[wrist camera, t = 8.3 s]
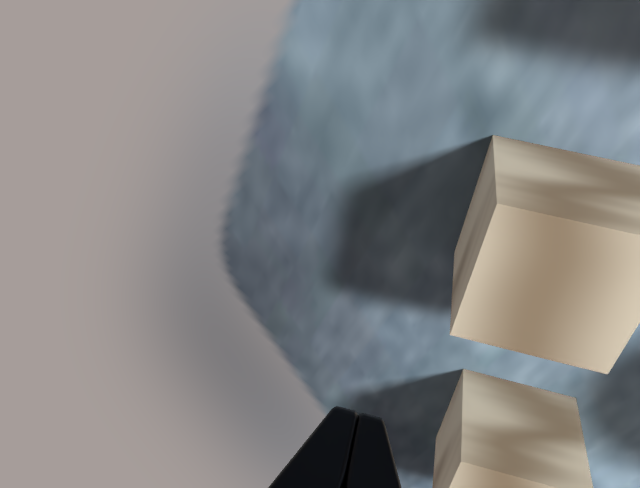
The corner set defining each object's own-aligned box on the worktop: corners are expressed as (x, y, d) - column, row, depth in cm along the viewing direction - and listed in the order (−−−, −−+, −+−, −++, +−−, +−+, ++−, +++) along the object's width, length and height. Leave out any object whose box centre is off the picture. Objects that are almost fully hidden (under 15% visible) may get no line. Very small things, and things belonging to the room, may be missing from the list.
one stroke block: (575, 396, 25) (595, 500, 21) (536, 463, 28) (547, 566, 24) (463, 367, 26) (460, 463, 21) (436, 435, 28) (429, 532, 24)
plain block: (641, 165, 19) (686, 245, 15) (583, 280, 22) (607, 374, 18) (492, 134, 20) (497, 203, 16) (454, 250, 22) (449, 334, 18)
